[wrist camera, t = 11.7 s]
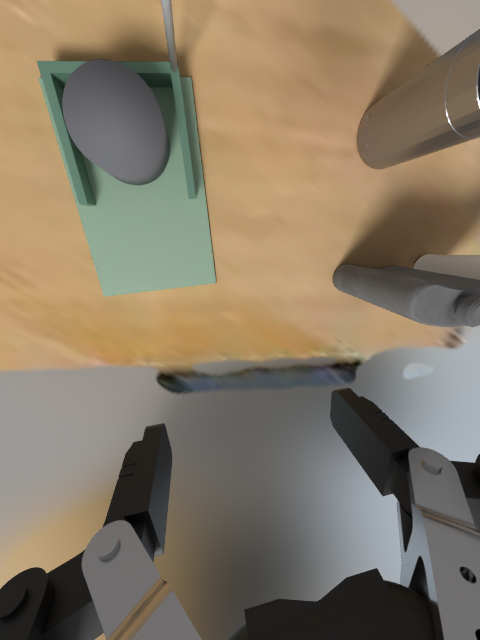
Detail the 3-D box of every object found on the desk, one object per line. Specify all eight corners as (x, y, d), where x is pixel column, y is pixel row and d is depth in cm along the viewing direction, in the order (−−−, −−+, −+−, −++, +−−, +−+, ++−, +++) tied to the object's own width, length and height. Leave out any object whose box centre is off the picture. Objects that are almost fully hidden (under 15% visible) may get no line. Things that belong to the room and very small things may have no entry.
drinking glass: (407, 289, 48) (493, 312, 35) (406, 256, 46) (498, 267, 32) (437, 277, 49) (534, 296, 35) (438, 244, 46) (542, 250, 32)
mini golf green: (191, 78, 31) (185, -220, 11) (215, 282, 41) (238, 334, 20) (40, 79, 29) (-353, -309, 8) (104, 295, 38) (1, 370, 18)
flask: (329, 294, 46) (420, 336, 27) (334, 263, 44) (437, 286, 25) (396, 294, 48) (520, 333, 30) (404, 265, 46) (543, 288, 28)
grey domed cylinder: (161, 94, 31) (152, 58, 24) (176, 182, 35) (172, 171, 28) (78, 97, 30) (46, 59, 23) (103, 188, 33) (81, 177, 27)
